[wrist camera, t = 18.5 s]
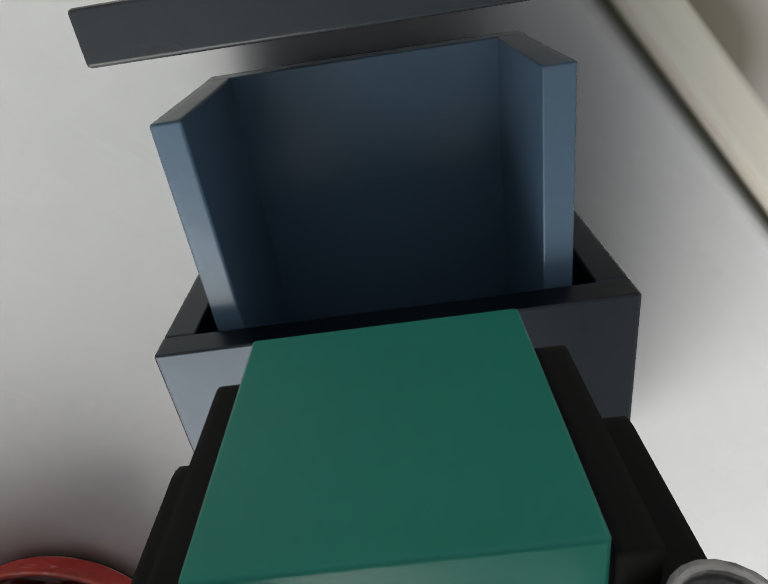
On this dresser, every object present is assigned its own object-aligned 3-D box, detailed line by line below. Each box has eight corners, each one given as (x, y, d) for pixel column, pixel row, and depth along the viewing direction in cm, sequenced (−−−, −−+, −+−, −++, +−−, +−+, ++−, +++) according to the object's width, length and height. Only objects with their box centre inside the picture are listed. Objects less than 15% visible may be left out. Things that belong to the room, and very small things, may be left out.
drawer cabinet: (224, 224, 23) (152, 356, 16) (550, 179, 23) (642, 293, 15) (302, 485, 31) (279, 662, 23) (550, 457, 30) (611, 629, 22)
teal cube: (305, 518, 12) (274, 782, 8) (252, 339, 10) (173, 585, 6) (524, 494, 12) (596, 755, 8) (518, 306, 10) (615, 538, 6)
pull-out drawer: (87, -275, 15) (-97, -423, 9) (537, -359, 15) (652, -575, 9) (267, 347, 25) (235, 470, 19) (541, 311, 24) (597, 427, 18)
